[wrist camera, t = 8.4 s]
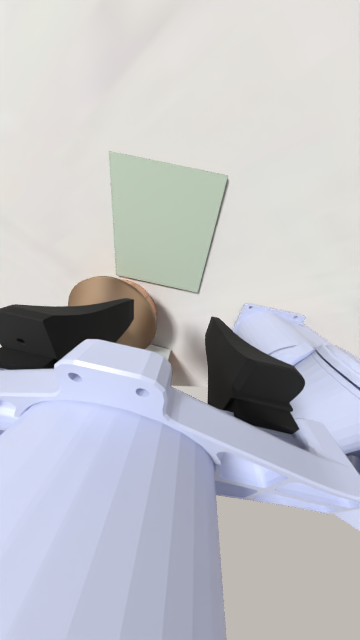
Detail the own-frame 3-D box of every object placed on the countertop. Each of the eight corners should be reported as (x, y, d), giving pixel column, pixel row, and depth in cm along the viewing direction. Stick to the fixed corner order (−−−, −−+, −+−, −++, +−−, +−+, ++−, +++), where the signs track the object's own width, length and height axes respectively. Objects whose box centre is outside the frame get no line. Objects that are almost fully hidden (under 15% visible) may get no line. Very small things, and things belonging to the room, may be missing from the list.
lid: (162, 286, 18) (148, 301, 13) (154, 355, 24) (142, 383, 19) (69, 265, 18) (19, 273, 13) (85, 339, 24) (56, 363, 19)
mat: (227, 177, 14) (228, 175, 14) (197, 291, 21) (197, 292, 20) (111, 153, 14) (109, 151, 14) (117, 274, 21) (116, 274, 20)
